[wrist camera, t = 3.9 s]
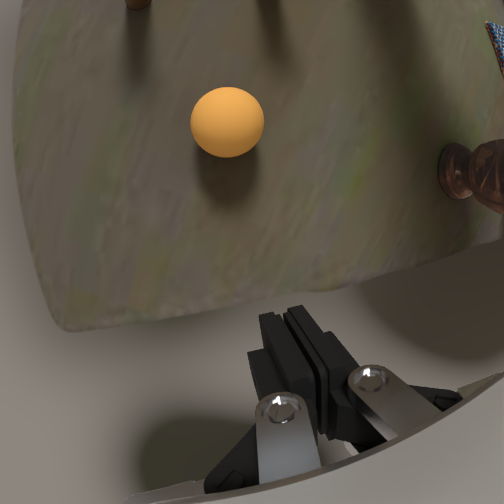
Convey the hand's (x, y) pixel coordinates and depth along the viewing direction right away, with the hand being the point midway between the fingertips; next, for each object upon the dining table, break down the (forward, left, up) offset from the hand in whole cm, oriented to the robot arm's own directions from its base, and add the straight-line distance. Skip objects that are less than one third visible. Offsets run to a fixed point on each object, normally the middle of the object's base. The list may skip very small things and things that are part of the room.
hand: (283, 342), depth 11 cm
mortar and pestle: (-28, -3, -19) cm, 34 cm away
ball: (-1, -10, -16) cm, 19 cm away
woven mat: (-52, -25, -20) cm, 61 cm away
